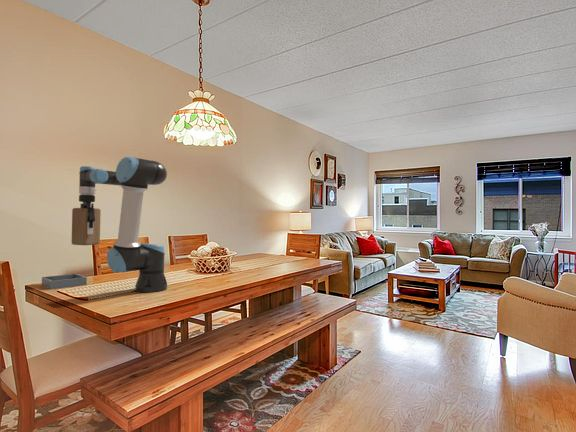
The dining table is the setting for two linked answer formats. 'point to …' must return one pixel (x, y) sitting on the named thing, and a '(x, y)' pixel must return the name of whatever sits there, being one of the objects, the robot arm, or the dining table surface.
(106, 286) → the dining table surface
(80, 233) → the wooden block
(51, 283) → the tray
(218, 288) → the dining table surface
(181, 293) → the dining table surface
